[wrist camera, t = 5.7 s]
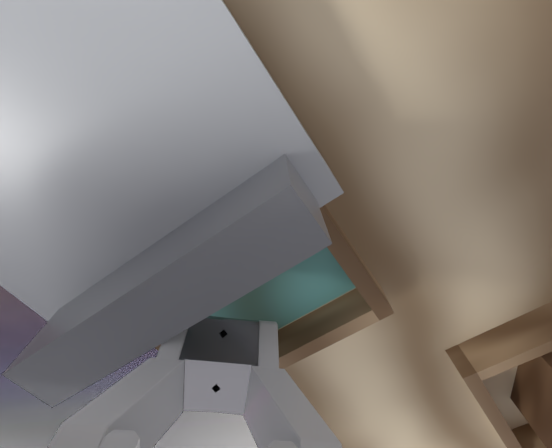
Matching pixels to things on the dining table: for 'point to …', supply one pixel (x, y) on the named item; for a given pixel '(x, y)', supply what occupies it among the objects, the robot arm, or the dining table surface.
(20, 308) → the dining table surface
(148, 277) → the cover
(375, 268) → the board
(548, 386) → the block
